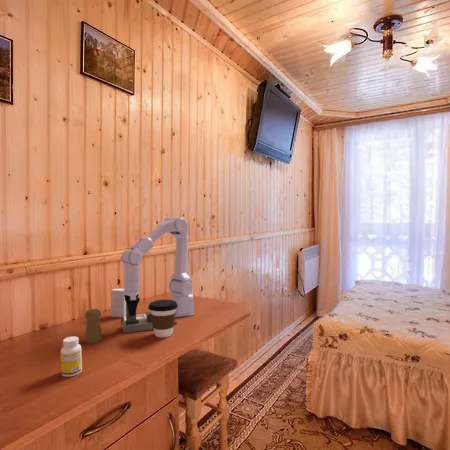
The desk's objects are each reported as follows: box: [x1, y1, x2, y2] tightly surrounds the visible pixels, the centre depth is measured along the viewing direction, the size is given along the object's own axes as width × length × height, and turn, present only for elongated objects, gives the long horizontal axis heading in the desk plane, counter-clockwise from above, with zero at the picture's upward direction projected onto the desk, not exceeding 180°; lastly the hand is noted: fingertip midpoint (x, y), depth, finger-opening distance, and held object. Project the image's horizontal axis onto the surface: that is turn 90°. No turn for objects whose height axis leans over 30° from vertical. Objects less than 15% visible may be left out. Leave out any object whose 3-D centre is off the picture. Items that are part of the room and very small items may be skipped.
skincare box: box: [110, 288, 126, 318], centre depth 145 cm, size 6×4×12 cm
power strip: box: [122, 311, 178, 334], centre depth 131 cm, size 22×7×6 cm, turn 110°
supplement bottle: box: [60, 336, 83, 378], centre depth 93 cm, size 5×5×10 cm
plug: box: [126, 303, 137, 322], centre depth 128 cm, size 4×4×7 cm
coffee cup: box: [148, 299, 178, 339], centre depth 122 cm, size 11×11×12 cm
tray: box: [123, 313, 146, 321], centre depth 139 cm, size 9×7×1 cm
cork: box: [83, 308, 103, 344], centre depth 117 cm, size 6×6×11 cm
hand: (132, 314), depth 128 cm, fingers closed on plug, 4 cm apart
